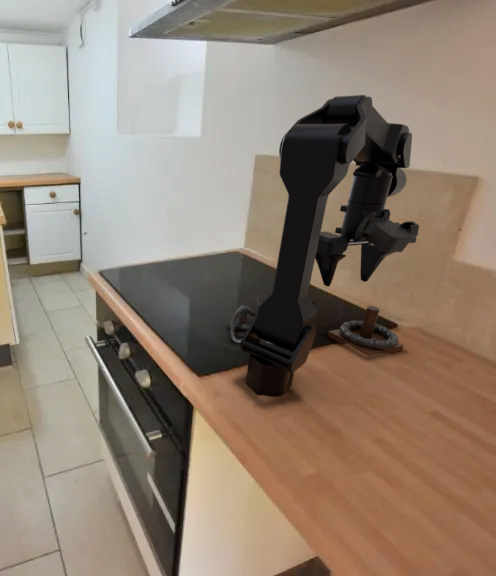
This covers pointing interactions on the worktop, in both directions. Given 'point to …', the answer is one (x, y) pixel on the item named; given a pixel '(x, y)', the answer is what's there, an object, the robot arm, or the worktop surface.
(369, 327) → the post
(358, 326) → the ring
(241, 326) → the grey curved frame
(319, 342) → the worktop surface
